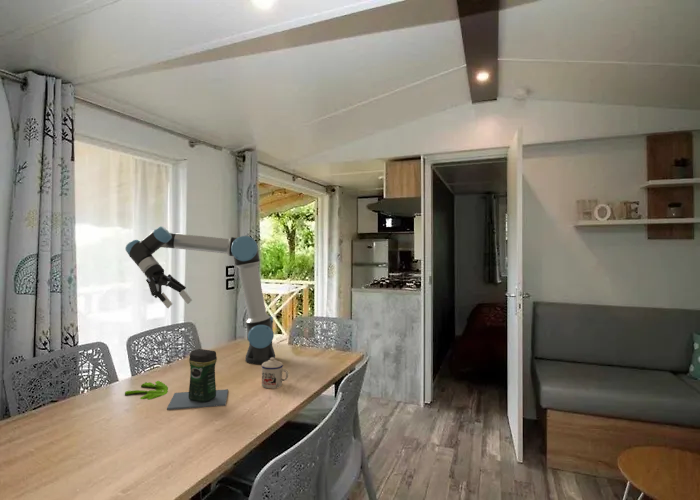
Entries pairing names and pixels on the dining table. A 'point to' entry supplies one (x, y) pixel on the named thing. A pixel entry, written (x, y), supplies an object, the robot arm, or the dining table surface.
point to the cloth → (159, 387)
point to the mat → (184, 402)
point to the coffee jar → (202, 375)
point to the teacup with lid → (272, 373)
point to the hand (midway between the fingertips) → (180, 304)
